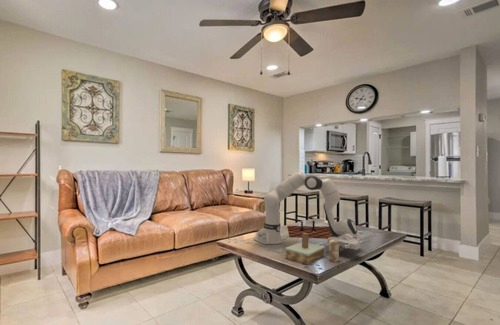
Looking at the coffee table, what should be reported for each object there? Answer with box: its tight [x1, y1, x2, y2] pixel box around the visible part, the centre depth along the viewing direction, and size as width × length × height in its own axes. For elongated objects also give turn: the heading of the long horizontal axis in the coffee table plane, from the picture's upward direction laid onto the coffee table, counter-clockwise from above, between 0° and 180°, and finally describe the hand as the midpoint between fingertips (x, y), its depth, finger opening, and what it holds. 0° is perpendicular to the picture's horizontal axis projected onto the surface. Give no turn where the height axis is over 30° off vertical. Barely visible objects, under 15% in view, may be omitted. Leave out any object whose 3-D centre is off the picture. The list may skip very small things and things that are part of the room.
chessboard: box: [286, 219, 335, 240], centre depth 239 cm, size 40×40×11 cm
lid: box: [284, 233, 326, 256], centre depth 174 cm, size 17×21×10 cm
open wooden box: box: [285, 249, 325, 265], centre depth 174 cm, size 16×20×5 cm
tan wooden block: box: [328, 240, 340, 263], centre depth 170 cm, size 4×4×12 cm
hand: (337, 245), depth 173 cm, fingers open, 8 cm apart
